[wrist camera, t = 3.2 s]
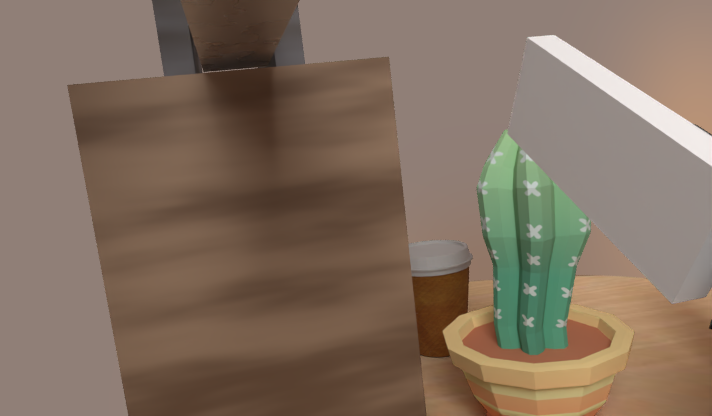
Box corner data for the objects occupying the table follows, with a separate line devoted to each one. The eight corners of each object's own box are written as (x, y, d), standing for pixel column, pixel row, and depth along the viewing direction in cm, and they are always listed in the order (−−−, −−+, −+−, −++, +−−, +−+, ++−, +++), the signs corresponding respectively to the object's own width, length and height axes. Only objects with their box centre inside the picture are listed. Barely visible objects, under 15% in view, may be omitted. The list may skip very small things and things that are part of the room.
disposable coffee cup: (383, 353, 65) (372, 255, 63) (430, 326, 71) (421, 237, 70) (451, 370, 58) (440, 261, 56) (495, 339, 65) (487, 241, 63)
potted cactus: (659, 484, 37) (644, 118, 34) (437, 465, 42) (403, 144, 39) (623, 380, 52) (610, 116, 49) (460, 375, 57) (438, 135, 53)
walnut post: (441, 557, 33) (377, -48, 28) (169, 638, 30) (45, -33, 25) (368, 416, 51) (321, 26, 46) (191, 457, 47) (120, 40, 43)
